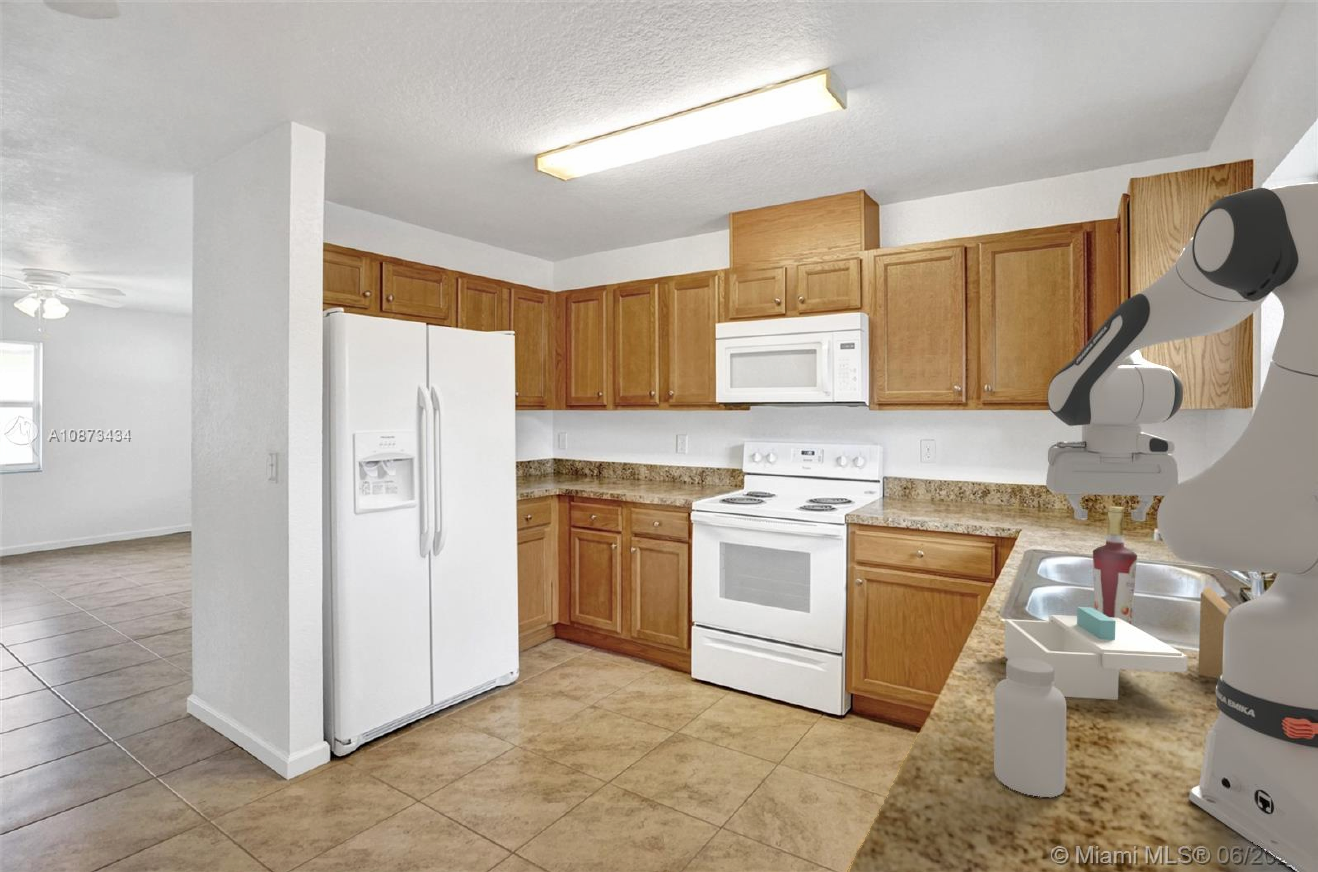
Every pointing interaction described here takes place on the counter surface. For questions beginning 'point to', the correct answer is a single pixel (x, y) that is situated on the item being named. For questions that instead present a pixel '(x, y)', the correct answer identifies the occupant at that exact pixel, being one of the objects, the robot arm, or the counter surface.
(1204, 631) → the sandwich container
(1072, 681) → the box
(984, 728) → the counter surface
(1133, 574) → the liquor
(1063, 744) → the pill bottle
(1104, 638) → the lid
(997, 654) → the counter surface
